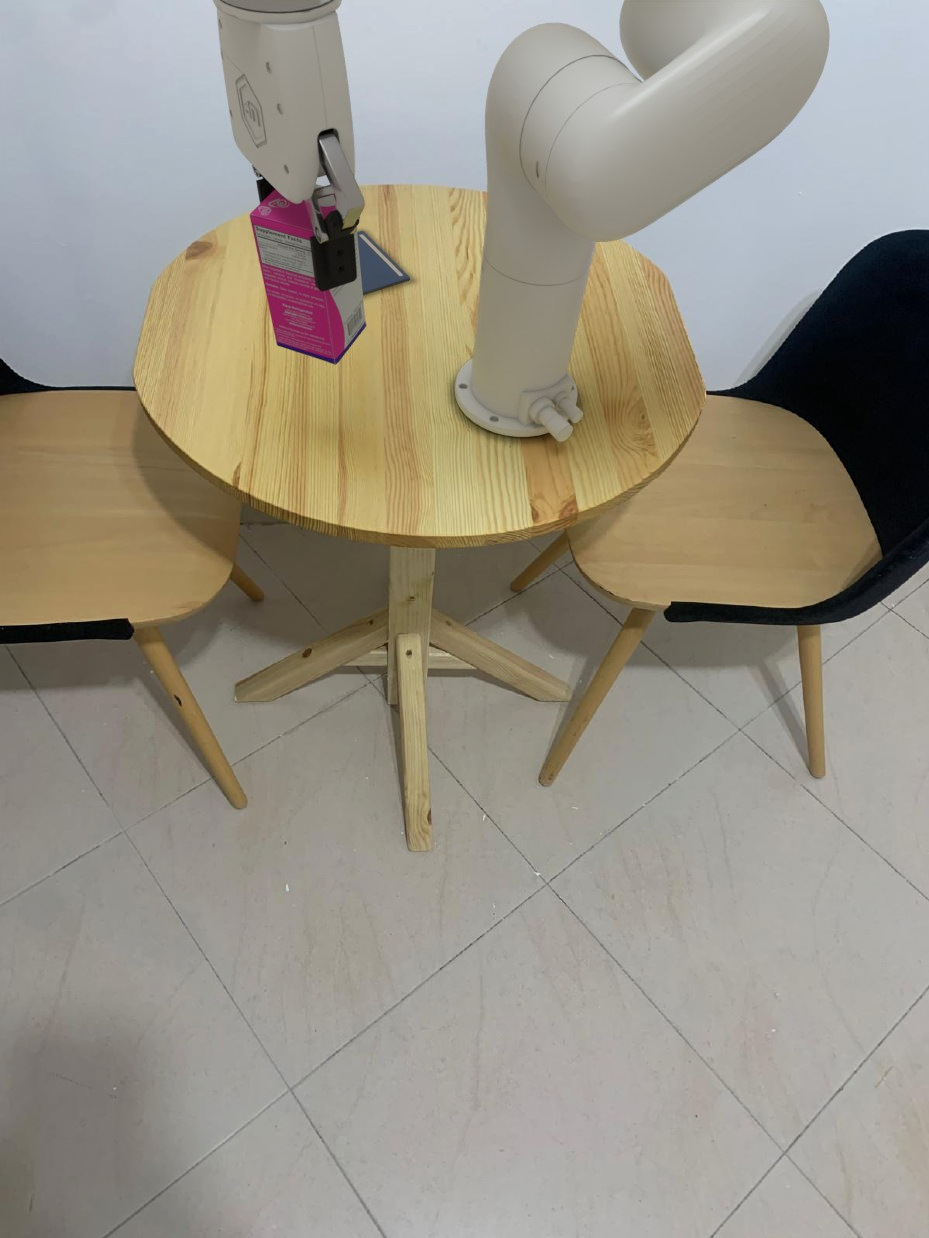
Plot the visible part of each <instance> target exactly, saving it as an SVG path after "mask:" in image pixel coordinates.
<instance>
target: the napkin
mask: <svg viewBox="0 0 929 1238" xmlns="http://www.w3.org/2000/svg"><path fill="white" fill-rule="evenodd" d="M357 237H358V248H359V259H360V269H361V280H362V290H363V296H364V295H367V294H371V293H373V292H376V291H379V290H383V289H386V288H389V287H391V286H394V285H398V284H401V283H404V282H407V281H410V280H411V276H409V275H408V274H407V273H406V272H405V271H404V270H403V269H402V268H401V267H400V266H399V265H398V264H397V263H396V262H395V261H394V260H393V258H391V257H390V255H388V254H387V253H386V252H385V250H383V249H382V248H381V246H379V245H378V244H377V243H376V242H375V241H374V240H373V239H372V238H371V237H370V236H369V235H368V234H367V233H366V231H364V230H359V231H357Z"/></svg>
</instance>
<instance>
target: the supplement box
mask: <svg viewBox="0 0 929 1238" xmlns="http://www.w3.org/2000/svg"><path fill="white" fill-rule="evenodd" d="M324 186H325V185H321V184H317V183H316V185H315V188H314V189H317V188H320V187H324ZM318 202H319V205H320V209H321V212H322V215H323V218H324V219H325V218H326V216H327V215H328V214H329V212H331V211H334V210H335V208H336V207H335V204H336V201H335V198H334V195H331V196H327V197H324V198H321V199H318ZM249 220H250V225H251V228H252V229H251V230H252V233H253V239H254V243H255V249H256V252H257V258H258V262H259V267H260V271H261V276H262V282H263V286H264V291H265V294H266V301H267V305H268V310H269V314H270V320H271V324H272V329H273V334H274V338H275V344H276V346H277V347H280V348H283V349H286V350H289V351H293V352H296V353H299V354H302V355H305V356H309V357H311V358H314V359H318V360H320V361H323V362H326V363H329V364H331V365H335V366H336V365H337V364H339V362H340V361H341V360H342V359H343V357H344V356H345V355H346V354H347V352H348V351H349V350H350V348H351V347H352V345H354V343H355V342H356V340H357V339H358V338H359V336H360V335H361V334H362V333H363V331H364V330H365V329H366V327H367V322H366V312H365V311H366V310H365V301H364V295H363V290H362V280H361V269H360V259H359V248H358V237H357V232H358V231H357V232H356V233H354V240H355V254H356V268H357V278H356V280H355V281H353V282H350V283H347V284H344V285H341V286H338V287H335V288H332V289H329V290H326V291H323V292H322V291H320V290H319V289H318V288H317V287H316V285H315V278H314V269H313V261H312V253H311V245H310V237H312V236H315V234H314V230H313V227H312V224H311V221H310V218H309V215H308V212H307V208H306V205H305V202H304V200H303V201H302V203H299V204H295V203H292V202H290V201H289V200H287V199H286V198H285V197H284V196H282V195H281V194H280V193H279V192H278V191H277V190H276V189H275V190H274V191H273V192H272V193H271V194H270V195H269V196H268V197H267V198H266V199H265V200H264V201H263V202H262V203H261V204H260V203H259V204H258V205H257V206H256V207H255V208H254V209H253V210H252V211H251V212H250V213H249Z"/></svg>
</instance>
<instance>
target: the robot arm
mask: <svg viewBox="0 0 929 1238" xmlns="http://www.w3.org/2000/svg"><path fill="white" fill-rule="evenodd" d="M212 2H213V4H214V6H215V8H216V17H217V20H216V21H217V30H218V40H219V49H220V57H221V64H222V69H223V70H222V71H223V78H224V84H225V92H226V98H227V99H226V100H227V106H228V112H229V118H230V124H231V130H232V131H231V132H232V136H233V140H234V142H235V144H236V147H237V148H238V150H239V152H240V153H241V154H242V155H243V156H244V158H245V159H246V160H247V161H248V162H249V164H251V167H252V171H253V174H254V175H255V177H256V178H257V179H256V180H255V182H256V188H257V194H258V199H259V205H260V204H261V203H262V202H263V201H264V200H265V199H266V198H267V197H268V196H269V195H270V194H271V193H272V192H273V191H274V190H275V189H276V190H277V191H278V192H279V193H280V194H281V195H282V196H284V197H285V198H286V199H287V200H289V201H290V202H292V203H295V204H299V203H302V201H303V200H304V202H305V205H306V208H307V212H308V215H309V218H310V221H311V224H312V227H313V230H314V234H315V236H312V237H310V245H311V253H312V261H313V269H314V278H315V285H316V287H317V288H318V289H319V290H320V291H322V292H323V291H326V290H329V289H332V288H335V287H338V286H341V285H344V284H347V283H350V282H353V281H355V280H356V278H357V268H356V254H355V240H354V233H356V232H358V226H359V224H360V219H361V215H362V213H363V211H364V208H365V203H366V202H365V198H364V196H363V192H362V191H361V188H360V186H359V184H358V182H357V180H356V149H355V148H356V147H355V134H354V133H355V132H354V122H353V113H352V112H353V111H352V103H351V96H350V87H349V79H348V72H347V66H346V57H345V52H344V46H343V45H344V44H343V39H342V33H341V28H340V27H341V26H340V22H339V16H338V12H337V10H338V9H339V8H340V6H341V5H342V2H343V0H212ZM618 23H619V24H618V25H619V27H618V28H619V39H620V44H621V47H622V49H623V52H624V53H625V56H626V59H627V60H628V62H629V63H630V65H631V67H632V68H633V69H634V71H636V73H637V74H638V75H639V77H640V78H641V79H643V81H642V80H641V79H640V78H639V77H637V75H635V74H634V73H633V72H632V71H631V70H630V69H629V68H628V66H626V64H625V63H623V62H622V61H621V60H620V59H619V58H618V57H617V56H615V54H613V53H612V52H611V51H610V50H609V49H608V48H607V47H606V46H604V45H603V44H602V43H601V42H600V41H599V40H598V39H597V38H594V36H592V35H591V34H590V33H588V32H586V31H584V30H583V29H581V28H578V27H577V26H573V25H570V24H568V23H565V22H564V23H563V22H544V23H539V24H537V25H534V26H532V27H529V28H528V29H526V30H524V31H523V32H521V33H520V34H519V35H518V36H516V37H515V38H514V39H513V40H512V41H511V42H510V43H509V44H508V45H507V47H506V48H505V49H504V51H503V52H502V53H501V55H500V57H499V59H498V61H497V63H496V64H495V67H494V69H493V71H492V74H491V78H490V80H489V84H488V88H487V93H486V98H485V99H486V100H485V108H484V109H485V110H484V140H485V141H484V144H485V160H486V162H485V164H486V183H487V184H486V212H485V224H484V225H485V226H484V238H483V245H482V254H481V264H480V275H479V286H478V296H477V297H478V298H477V310H476V319H475V320H476V321H475V330H474V341H473V351H472V357H471V358H470V359H469V360H467V361H466V362H465V363H464V364H463V365H462V366H461V367H460V369H459V371H458V372H457V374H456V377H455V381H454V382H455V383H454V396H455V400H456V402H457V405H458V407H459V408H460V410H461V411H462V412H463V414H464V415H465V416H466V417H467V418H468V419H470V421H471V422H473V423H474V424H476V425H477V426H479V427H481V428H483V429H485V430H487V431H490V432H492V433H495V434H499V435H502V436H506V437H514V438H515V437H516V438H530V437H536V436H537V437H538V436H541V435H545V434H549V435H551V436H552V437H553V438H554V439H555V440H556V441H557V442H559V443H562V442H565V441H566V440H568V439H569V438H570V437H571V435H572V434H573V431H574V427H573V425H571V424H570V422H569V421H571V422H572V423H573V424H578V423H579V422H581V420H582V419H583V417H584V412H583V411H582V410H581V408H580V407H578V406H577V402H578V387H577V384H576V381H575V380H574V378H573V376H572V375H571V373H569V366H570V363H571V358H572V353H573V349H574V345H575V339H576V336H577V331H578V327H579V326H578V325H579V322H580V316H581V312H582V308H583V303H584V298H585V293H586V289H587V285H588V281H589V276H590V271H591V267H592V264H593V261H594V260H593V259H594V257H595V256H594V255H595V250H596V246H597V243H608V242H614V241H619V240H622V239H624V238H628V237H630V236H632V235H634V234H636V233H638V232H640V231H642V230H644V229H646V228H647V227H649V226H651V225H652V224H654V223H656V222H657V221H658V220H660V219H662V218H664V216H667V215H668V214H670V213H671V212H672V211H673V210H675V209H676V208H678V207H679V206H682V204H684V203H685V202H687V201H689V200H690V199H691V198H694V196H696V195H698V194H699V193H700V192H702V191H703V190H705V189H706V188H707V187H709V186H711V185H712V184H714V183H715V182H716V181H719V180H720V179H721V178H722V177H724V176H726V175H727V174H728V173H731V171H732V170H734V169H735V168H737V167H739V166H740V165H741V164H743V163H744V162H746V161H747V160H749V159H750V158H751V157H754V155H756V154H757V153H759V152H760V151H761V150H763V149H764V148H765V147H767V146H768V145H769V144H770V143H772V142H773V141H774V140H775V139H777V137H779V136H780V135H781V133H783V131H784V130H785V129H786V128H787V127H788V126H789V125H790V124H791V123H792V122H793V121H794V120H795V118H796V117H797V116H798V114H799V113H800V112H801V111H802V109H803V108H804V106H806V104H807V102H808V101H809V99H810V98H811V96H812V94H813V93H814V91H815V89H816V87H817V85H818V83H819V81H820V79H821V77H822V75H823V72H824V69H825V65H826V62H827V59H828V54H829V50H830V49H829V48H830V25H829V20H828V16H827V12H826V11H825V8H824V6H823V4H822V2H821V1H820V0H623V3H622V6H621V9H620V13H619V21H618ZM325 176H326V178H327V180H328V182H329V184H328V185H327V184H326V185H323V186H324V187H320V188H317V189H314V188H315V185H316V184H317V181H318V178H321V177H325ZM259 178H260V179H259ZM331 195H334V198H335V201H336V204H335V207H336V208H335V210H334V211H331V212H329V214H328V215H327V216H326V218H325V219H324V218H323V215H322V212H321V209H320V205H319V202H318V199H321V198H324V197H327V196H331Z"/></svg>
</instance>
